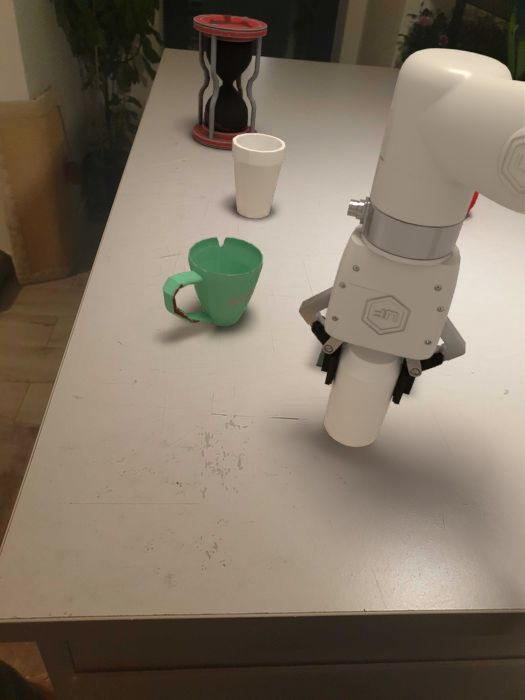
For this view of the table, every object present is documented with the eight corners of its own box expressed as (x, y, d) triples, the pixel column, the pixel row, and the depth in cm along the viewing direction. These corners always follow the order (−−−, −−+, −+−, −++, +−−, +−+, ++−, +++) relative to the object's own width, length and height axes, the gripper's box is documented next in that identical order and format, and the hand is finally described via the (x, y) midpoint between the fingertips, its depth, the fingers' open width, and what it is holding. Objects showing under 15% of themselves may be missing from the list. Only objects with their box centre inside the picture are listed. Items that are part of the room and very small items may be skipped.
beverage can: (313, 414, 60) (332, 331, 52) (362, 405, 62) (387, 324, 54) (336, 457, 55) (360, 373, 48) (387, 445, 57) (418, 363, 49)
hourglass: (268, 136, 134) (279, 23, 118) (239, 155, 122) (247, 32, 106) (212, 122, 138) (216, 11, 122) (179, 139, 127) (178, 18, 111)
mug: (225, 288, 80) (229, 229, 74) (271, 319, 75) (279, 259, 69) (145, 324, 72) (141, 261, 65) (190, 362, 67) (190, 298, 60)
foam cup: (279, 204, 105) (288, 137, 96) (274, 225, 98) (283, 155, 89) (232, 197, 105) (236, 130, 97) (224, 217, 98) (228, 147, 90)
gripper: (296, 222, 41) (272, 386, 53) (525, 274, 38) (446, 436, 50) (317, 187, 47) (291, 342, 58) (518, 230, 44) (449, 384, 55)
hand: (363, 384), depth 54 cm, fingers closed on beverage can, 6 cm apart
